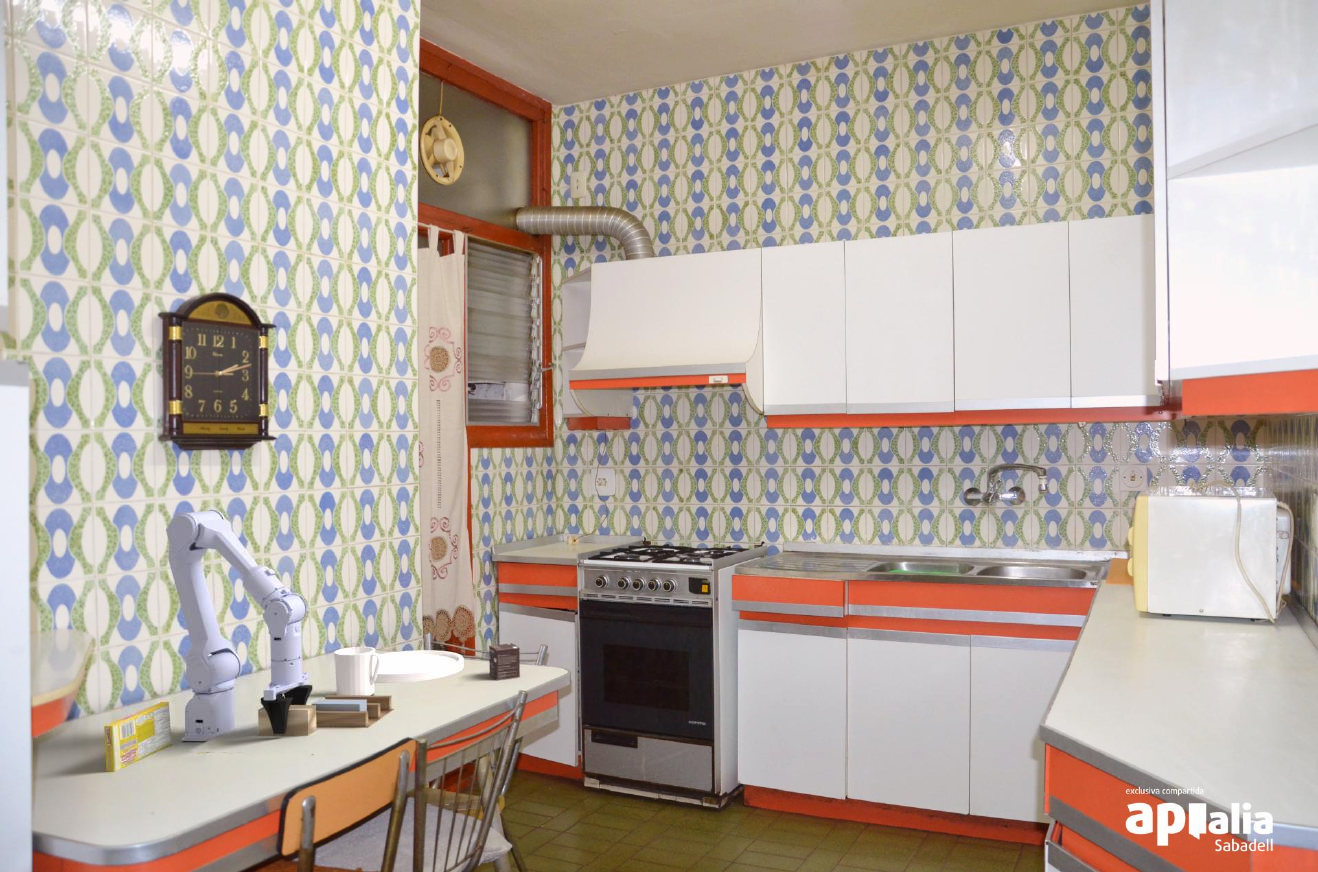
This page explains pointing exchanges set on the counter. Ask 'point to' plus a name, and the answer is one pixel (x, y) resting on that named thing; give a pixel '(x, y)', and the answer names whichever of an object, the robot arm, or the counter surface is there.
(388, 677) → the plate
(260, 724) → the wooden block
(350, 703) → the blue slat
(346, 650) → the mug
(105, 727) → the candy box
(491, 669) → the box
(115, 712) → the counter surface
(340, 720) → the rack
